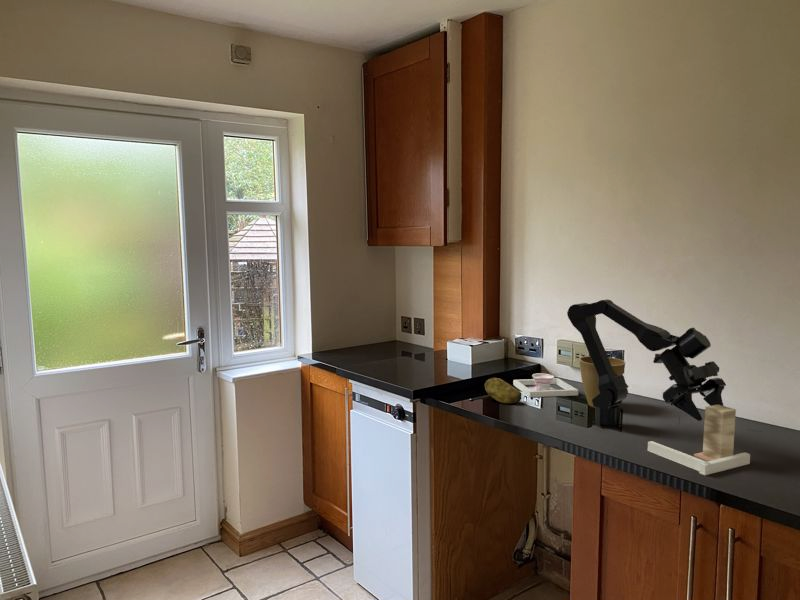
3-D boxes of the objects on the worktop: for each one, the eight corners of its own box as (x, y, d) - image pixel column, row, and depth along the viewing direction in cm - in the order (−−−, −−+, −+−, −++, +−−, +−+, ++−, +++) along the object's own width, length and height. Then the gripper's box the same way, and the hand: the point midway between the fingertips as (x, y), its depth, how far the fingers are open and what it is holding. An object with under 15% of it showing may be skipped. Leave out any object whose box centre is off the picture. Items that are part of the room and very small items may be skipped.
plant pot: (581, 411, 196) (582, 364, 194) (575, 399, 211) (576, 355, 209) (628, 413, 194) (630, 365, 192) (618, 400, 208) (620, 356, 207)
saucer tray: (529, 397, 213) (530, 391, 213) (513, 384, 231) (513, 379, 231) (578, 395, 215) (578, 390, 215) (557, 383, 234) (558, 378, 233)
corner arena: (644, 451, 159) (645, 442, 159) (688, 441, 166) (688, 433, 166) (704, 475, 143) (705, 465, 143) (749, 463, 150) (750, 454, 150)
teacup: (565, 393, 219) (566, 377, 219) (542, 397, 213) (542, 381, 212) (542, 386, 229) (542, 370, 229) (519, 390, 223) (519, 374, 222)
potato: (508, 407, 200) (508, 384, 199) (480, 399, 210) (480, 377, 209) (524, 403, 205) (524, 380, 204) (496, 395, 215) (496, 374, 214)
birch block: (702, 454, 155) (705, 406, 154) (715, 451, 157) (717, 404, 156) (720, 461, 150) (723, 411, 149) (732, 458, 153) (735, 409, 151)
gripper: (674, 354, 153) (709, 407, 145) (721, 349, 161) (758, 398, 153) (648, 377, 161) (680, 428, 153) (694, 371, 169) (727, 419, 161)
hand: (712, 418), depth 155 cm, fingers open, 9 cm apart
